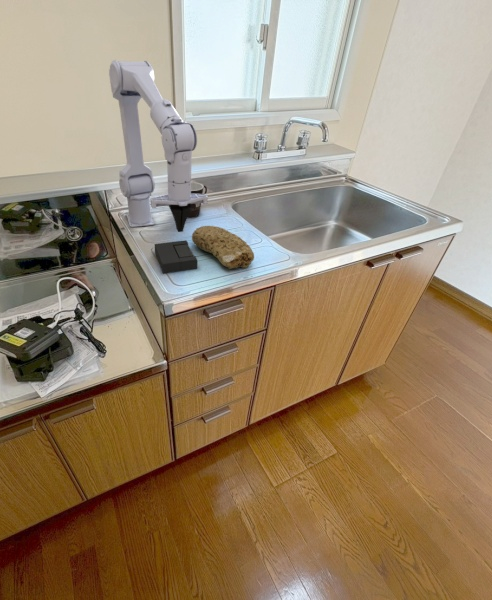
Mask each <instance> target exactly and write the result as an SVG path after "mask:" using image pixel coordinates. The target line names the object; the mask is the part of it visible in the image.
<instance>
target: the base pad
mask: <svg viewBox="0 0 492 600" xmlns="http://www.w3.org/2000/svg"><path fill="white" fill-rule="evenodd" d="M186 244H188V245H189V242H188V240H187V239H185V240H176V241H167V242H159V243H154V254H155V257H156V259H157V262H158V264H159V267H160V269H161V272H162V274H170V273H177V272H184V271H191V270H197V269H198V258H197V256H196V255H194V256H191V257H183V258H179V257H178V255H177V253H176V251H175V249H174V246H177V245H186Z"/></svg>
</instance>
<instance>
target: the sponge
mask: <svg viewBox="0 0 492 600" xmlns="http://www.w3.org/2000/svg"><path fill="white" fill-rule="evenodd" d="M191 241H192V243H193V244H194V245H195V246H196V247H197V248H199V249H200V250H202V251H204V252H206V253H208V254H212V255H213V256H214V257H215V258H217V260H218V261H219V262H220V263H221V265H223V266H224V267H226V268H228V269H229V270H230V269H231V270H232V269H237V268H248V267H249V266H251V263H252V262H253V261H254V260H255V252H254V251H253V250H252V248H251V247H250V245H249V244H247V242H246V241H245V240H243V238H241V237H240V236H238V234H235V233H232V232H230V231H229V230H226V229H225V228H223V227H220V226H214V225H204V226H203V225H202V226H200V227H196V228H195V230H194V231H193V232H192V234H191ZM228 269H227V270H228Z"/></svg>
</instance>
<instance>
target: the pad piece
mask: <svg viewBox="0 0 492 600" xmlns="http://www.w3.org/2000/svg"><path fill="white" fill-rule="evenodd" d="M174 249H175V251H176V253H177V255H178V257H179V258H183V257H191V256H195V255H194V253H193V252H192V250H191V248H190V246H189V243H188V244H186V245H177V246H174Z"/></svg>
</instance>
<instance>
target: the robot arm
mask: <svg viewBox="0 0 492 600" xmlns="http://www.w3.org/2000/svg"><path fill="white" fill-rule="evenodd" d="M154 71H155V70H154V67H152V65H151V63H150V62H149V61H148V60H143V61H139V60H138V61H135V60H133V61H132V60H116V59H113V60H111V63H110V65H109V69H108V77H109V83H110V89H111V95H112V98H113V99H115V100H117V101H118V106H119V114H120V120H121V128H122V135H123V142H124V151H125V159H126V164H125V165H124V166H123V167H122V168H121V169H120V170H119V173H118V175H119V181H118V183H119V185H118V186H119V189H120V192H121V194H122V195H123V196H124V197H125V198H126V200H127V201H126V203H127V211H128V213H127V214H126V219H127V221H128V224H129V227H130V228H136V227H137V228H138V227H146V226H147V227H149V226H155V221H154V220H153V218H152V212H151V211H152V210H151V208H152V209H157V208H159V207H168V208H169V210H170V211H171V214H172V217H173V220H174V223H175V228H176V231H177V232H178V233H183V232H184V229H185V225H186V223H187V219H188V216H189V214H190V212H191V209H192V208H191V206H190V204H196V203H201V204H203V205H208V199H209V197H208V195H207V193H206V194H204V193H203V194H192V193H191V182H192V152H193V151H195V150H196V148H197V144H198V135H197V131H196V128H195V127H194V124H193V123H192V122H187V121H186V120H183V118H182V117H181V116H180V114H179V113H178V111H177V110H176V108H175V107H174V105H173V104H172V102H171V101H170V100H169V99H166V98H163V96H162V95H161V93H160V90H159V89H158V86H157V85H156V83H155V72H154ZM141 99H143V101H144V102H145V103H146V104H147V106H148V107H149V108H150V110H149V116H150V119H151V121H152V122H153V123H154V125H155V127H156V128H157V130H158V132H159V133H160V135H161V136H160V138H161V144H162V148H163V151H164V158H165V160H166V163H167V164H166V168H167V169H166V170H167V171H166V173H167V194H165V195H160V196H159V195H158V196H155V197H152V193H154V191H155V187H156V184H155V183H156V182H155V179H154V176H153V170H152V169H151V167H149V166H148V165H146V164H145V163H144V154H143V143H142V135H141V125H140V116H139V115H140V114H139V106H138V104H139V102H140V100H141Z"/></svg>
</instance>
